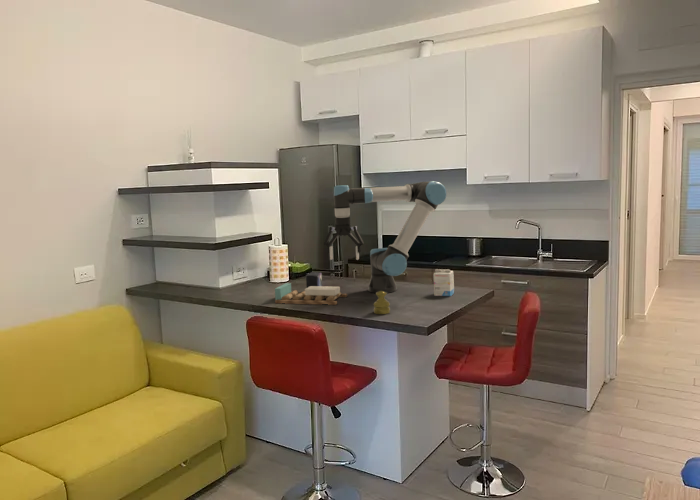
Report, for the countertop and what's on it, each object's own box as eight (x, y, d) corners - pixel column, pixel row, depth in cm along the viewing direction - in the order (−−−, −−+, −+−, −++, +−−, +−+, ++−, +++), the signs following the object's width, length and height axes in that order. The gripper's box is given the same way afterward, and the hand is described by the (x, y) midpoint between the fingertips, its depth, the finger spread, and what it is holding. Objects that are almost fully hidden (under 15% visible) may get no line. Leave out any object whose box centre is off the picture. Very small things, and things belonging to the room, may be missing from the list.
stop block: (291, 296, 294) (290, 283, 293) (281, 302, 281) (280, 288, 280) (286, 296, 295) (285, 283, 294) (275, 302, 281) (274, 288, 281)
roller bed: (347, 296, 288) (346, 290, 287) (335, 304, 270) (335, 298, 269) (290, 295, 297) (289, 289, 296) (275, 303, 279) (275, 296, 278)
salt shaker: (375, 310, 255) (375, 289, 254) (391, 310, 253) (391, 289, 251) (371, 314, 248) (371, 292, 247) (388, 314, 246) (387, 292, 244)
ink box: (454, 293, 285) (454, 267, 283) (450, 296, 277) (449, 270, 275) (438, 292, 288) (437, 266, 286) (433, 295, 281) (433, 269, 279)
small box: (318, 294, 296) (317, 275, 295) (306, 294, 297) (305, 275, 296) (323, 290, 306) (322, 271, 305) (311, 290, 308) (310, 271, 306)
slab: (339, 292, 283) (339, 286, 282) (335, 295, 275) (334, 289, 275) (310, 291, 287) (310, 286, 287) (305, 295, 280) (304, 289, 279)
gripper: (368, 215, 273) (370, 258, 276) (321, 216, 280) (323, 258, 283) (364, 216, 266) (366, 260, 269) (316, 218, 273) (318, 260, 276)
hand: (344, 259), depth 276 cm, fingers open, 13 cm apart
